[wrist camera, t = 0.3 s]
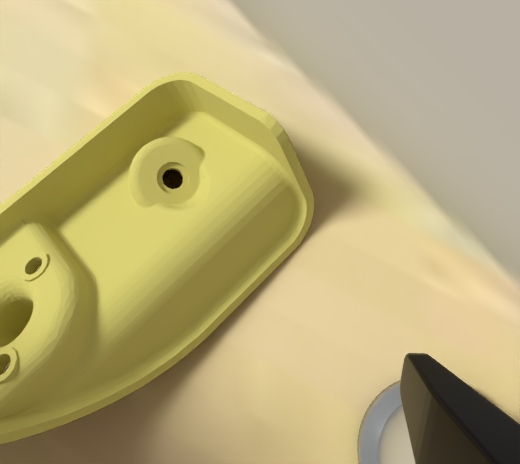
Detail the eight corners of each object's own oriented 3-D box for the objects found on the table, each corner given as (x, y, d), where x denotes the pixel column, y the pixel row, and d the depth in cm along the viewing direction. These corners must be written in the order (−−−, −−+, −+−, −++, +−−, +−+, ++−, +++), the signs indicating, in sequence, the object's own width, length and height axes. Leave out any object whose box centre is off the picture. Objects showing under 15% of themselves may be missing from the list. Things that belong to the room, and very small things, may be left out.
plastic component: (175, 62, 25) (298, 129, 19) (221, 149, 31) (324, 219, 25) (-130, 311, 21) (-87, 485, 15) (-10, 355, 27) (52, 492, 21)
